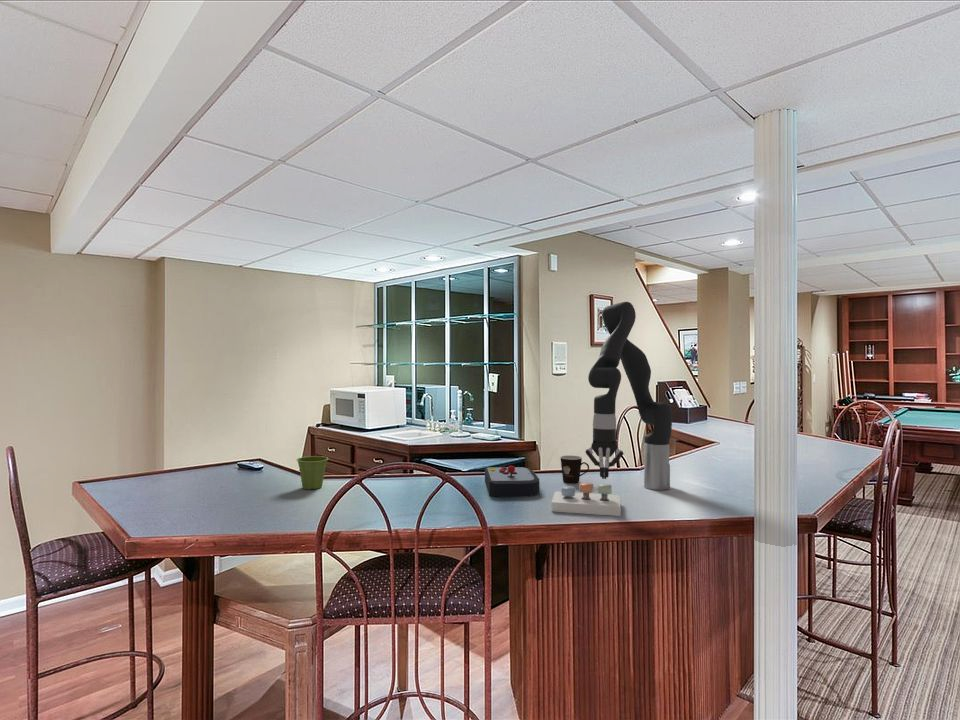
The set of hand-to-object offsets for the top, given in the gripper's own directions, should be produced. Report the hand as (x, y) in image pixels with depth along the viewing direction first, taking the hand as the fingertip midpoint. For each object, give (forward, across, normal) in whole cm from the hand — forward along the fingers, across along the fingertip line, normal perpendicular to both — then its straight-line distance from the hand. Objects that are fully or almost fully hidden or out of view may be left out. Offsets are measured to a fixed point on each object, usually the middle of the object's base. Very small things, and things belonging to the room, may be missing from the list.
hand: (604, 478), depth 176 cm
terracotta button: (+8, +6, 0) cm, 10 cm away
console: (+10, +6, 0) cm, 12 cm away
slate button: (+9, +12, 0) cm, 15 cm away
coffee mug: (+10, +12, -34) cm, 37 cm away
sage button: (+8, 0, 0) cm, 8 cm away
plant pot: (+11, +110, -3) cm, 110 cm away
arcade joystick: (+11, +35, -21) cm, 42 cm away
